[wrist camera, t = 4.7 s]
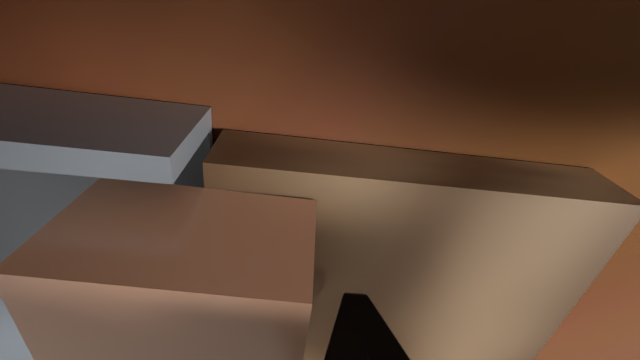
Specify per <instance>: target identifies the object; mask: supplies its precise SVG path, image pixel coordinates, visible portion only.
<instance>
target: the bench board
mask: <svg viewBox="0 0 640 360" xmlns="http://www.w3.org/2000/svg"><path fill="white" fill-rule="evenodd" d="M203 178H204V188H210V189H219V190H228V191H237V192H246V193H255V194H264V195H273V196H282V197H291V198H300V199H309V200H317V205H316V230H315V254H314V278H313V302H312V310H311V316H310V322H309V328H308V334H307V340H306V346H305V352H304V358H303V360H324V357H325V354H326V350H327V347H328V344H329V340H330V337H331V334H332V330H333V327H334V323H335V320H336V317H337V313H338V310H339V307H340V303H341V300H342V296H343V294H344V293H360V294H366V295H368V297H369V298H370V299H371V301H372V302H373V304H374V305H375V307H376V308H377V310H378V311H379V313H380V314H381V316H382V317H383V319H384V321H385V322H386V324H387V325H388V327H389V328H390V330H391V331H392V333H393V334H394V336H395V337H396V339H397V340H398V342H399V343H400V345H401V346H402V348H403V349H404V351H405V352H406V354H407V355H408V357H409V358H410V360H534V359H535V357H536V356H537V355H538V353H539V352H540V351H541V349H542V348H543V347H544V345H545V344H546V343H547V341H548V340H549V339H550V338H551V336H552V335H553V334H554V332H555V331H556V330H557V328H558V327H559V326H560V324H561V323H562V322H563V320H564V319H565V318H566V316H567V315H568V314H569V312H570V311H571V310H572V309H573V307H574V306H575V305H576V303H577V302H578V301H579V299H580V298H581V297H582V295H583V294H584V293H585V291H586V290H587V289H588V287H589V286H590V285H591V283H592V282H593V281H594V280H595V278H596V277H597V276H598V274H599V273H600V272H601V270H602V269H603V268H604V266H605V265H606V264H607V262H608V261H609V260H610V258H611V257H612V256H613V255H614V253H615V252H616V251H617V249H618V248H619V247H620V245H621V244H622V243H623V241H624V240H625V239H626V237H627V236H628V235H629V233H630V232H631V231H632V229H633V228H634V227H635V226H636V224H637V223H638V222H639V220H640V200H639V199H638V198H636V197H635V196H633V195H632V194H630V193H629V192H627V191H626V190H624V189H623V188H621V187H620V186H618V185H616V184H615V183H613V182H612V181H610V180H609V179H607V178H606V177H604V176H603V175H601V174H600V173H598V172H597V171H595V170H594V169H592V168H583V167H574V166H564V165H555V164H545V163H536V162H527V161H517V160H508V159H499V158H489V157H480V156H470V155H461V154H452V153H442V152H433V151H423V150H414V149H405V148H395V147H386V146H377V145H367V144H358V143H348V142H339V141H330V140H320V139H311V138H301V137H292V136H283V135H273V134H264V133H255V132H245V131H236V130H226V129H223V130H222V132H221V133H220V135H219V137H218V138H217V140H216V142H215V143H214V145H213V146H212V148H211V150H210V151H209V153H208V155H207V156H206V158H205V160H204V161H203Z"/></svg>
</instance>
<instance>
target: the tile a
mask: <svg viewBox="0 0 640 360" xmlns="http://www.w3.org/2000/svg"><path fill="white" fill-rule="evenodd" d="M316 205H317V200H309V199H300V198H291V197H282V196H273V195H264V194H255V193H246V192H237V191H228V190H219V189H210V188H201V187H192V186H183V185H174V184H162V183H151V182H140V181H129V180H118V179H108V178H100V179H98V180H97V181H96V182H95V183H94V184H93V185H91V186H90V187H89V188H88V189H87V190H85V191H84V192H83V193H82V194H81V195H80V196H78V197H77V198H76V199H75V200H74V201H73V202H71V203H70V204H69V205H68V206H67V207H66V208H64V209H63V210H62V211H61V212H60V213H58V214H57V215H56V216H55V217H54V218H53V219H51V220H50V221H49V222H48V223H47V224H46V225H44V226H43V227H42V228H41V229H40V230H39V231H37V232H36V233H35V234H34V235H33V236H32V237H30V238H29V239H28V240H27V241H26V242H24V243H23V244H22V245H21V246H20V247H19V248H17V249H16V250H15V251H14V252H13V253H12V254H10V255H9V256H8V257H7V258H6V259H5V260H3V261H2V262H1V263H0V296H1V298H2V300H3V302H4V304H5V306H6V308H7V309H8V311H9V313H10V315H11V317H12V319H13V321H14V323H15V325H16V327H17V329H18V330H19V332H20V334H21V336H22V338H23V340H24V342H25V344H26V346H27V348H28V350H29V351H30V353H31V355H32V357H33V359H34V360H303V358H304V352H305V346H306V340H307V334H308V328H309V322H310V316H311V310H312V302H313V278H314V254H315V230H316Z"/></svg>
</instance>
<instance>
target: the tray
mask: <svg viewBox="0 0 640 360" xmlns="http://www.w3.org/2000/svg"><path fill="white" fill-rule="evenodd" d="M212 146H213V140H212V116H211V107H207V106H199V105H190V104H181V103H172V102H163V101H154V100H145V99H136V98H127V97H118V96H109V95H100V94H91V93H82V92H73V91H64V90H55V89H46V88H37V87H28V86H19V85H10V84H1V83H0V263H1V262H2V261H3V260H5V259H6V258H7V257H8V256H9V255H10V254H12V253H13V252H14V251H15V250H16V249H17V248H19V247H20V246H21V245H22V244H23V243H24V242H26V241H27V240H28V239H29V238H30V237H32V236H33V235H34V234H35V233H36V232H37V231H39V230H40V229H41V228H42V227H43V226H44V225H46V224H47V223H48V222H49V221H50V220H51V219H53V218H54V217H55V216H56V215H57V214H58V213H60V212H61V211H62V210H63V209H64V208H66V207H67V206H68V205H69V204H70V203H71V202H73V201H74V200H75V199H76V198H77V197H78V196H80V195H81V194H82V193H83V192H84V191H85V190H87V189H88V188H89V187H90V186H91V185H93V184H94V183H95V182H96V181H97V180H98V179H100V178H108V179H118V180H129V181H140V182H151V183H162V184H174V185H183V186H192V187H201V188H204V178H203V161H204V160H205V158H206V156H207V155H208V153H209V151H210V150H211V148H212ZM0 360H34V359H33V357H32V355H31V353H30V351H29V350H28V348H27V346H26V344H25V342H24V340H23V338H22V336H21V334H20V332H19V330H18V329H17V327H16V325H15V323H14V321H13V319H12V317H11V315H10V313H9V311H8V309H7V308H6V306H5V304H4V302H3V300H2V298H1V296H0Z"/></svg>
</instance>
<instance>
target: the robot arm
mask: <svg viewBox="0 0 640 360" xmlns="http://www.w3.org/2000/svg"><path fill="white" fill-rule="evenodd" d="M324 360H410V358H409V357H408V355H407V354H406V352H405V351H404V349H403V348H402V346H401V345H400V343H399V342H398V340H397V339H396V337H395V336H394V334H393V333H392V331H391V330H390V328H389V327H388V325H387V324H386V322H385V321H384V319H383V317H382V316H381V314H380V313H379V311H378V310H377V308H376V307H375V305H374V304H373V302H372V301H371V299H370V298H369V297H368V295H366V294H360V293H344V294H343V296H342V300H341V303H340V307H339V310H338V313H337V317H336V320H335V323H334V327H333V330H332V334H331V337H330V340H329V344H328V347H327V350H326V354H325V357H324Z"/></svg>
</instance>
